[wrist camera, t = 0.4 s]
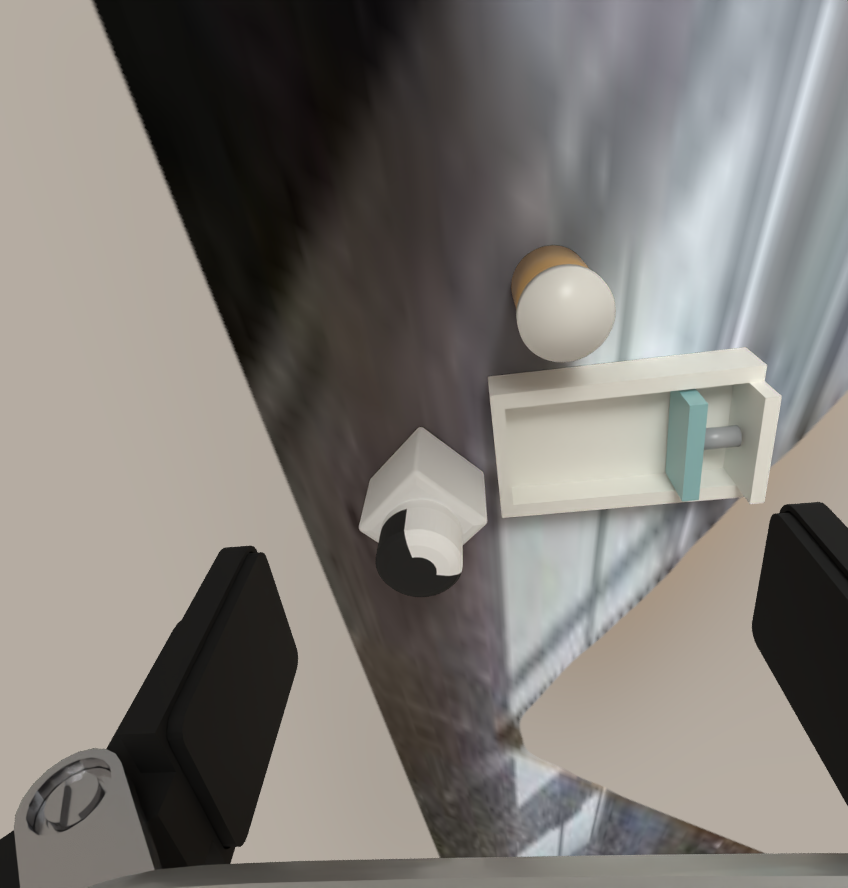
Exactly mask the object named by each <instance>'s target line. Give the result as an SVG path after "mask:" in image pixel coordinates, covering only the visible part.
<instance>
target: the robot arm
mask: <svg viewBox="0 0 848 888" xmlns="http://www.w3.org/2000/svg"><path fill="white" fill-rule="evenodd" d="M752 632H753V637H754V639H755V642H756V645H757V647H758V648H759V650H760V652H761V654H762V655H763V657H764V659H765V661H766V662H767V664H768V666H769V668H770V669H771V671H772V673H773V675H774V676H775V678H776V680H777V682H778V684H779V685H780V687H781V689H782V691H783V692H784V694H785V696H786V698H787V699H788V701H789V703H790V705H791V707H792V708H793V710H794V712H795V714H796V715H797V717H798V719H799V721H800V722H801V724H802V726H803V728H804V730H805V731H806V733H807V735H808V736H809V738H810V740H811V742H812V744H813V745H814V747H815V749H816V751H817V752H818V754H819V756H820V758H821V760H822V761H823V763H824V765H825V766H826V768H827V770H828V772H829V774H830V775H831V777H832V779H833V781H834V782H835V784H836V786H837V788H838V790H839V791H840V793H841V795H842V797H843V798H844V800H845V802H846V804H847V805H848V528H847V527H846V526H845V525H844V524H843V523H842V522H841V520H840V519H839V518H838V517H837V516H836V515H835V514H834V513H833V512H832V511H831V510H830V509H829V508H828V507H827V506H826V505H825V504H823V503H820V502H814V503H800V504H787V505H784V506H783V507H782V508H781V510H780V513H778V514H773V515H772V517H771V519H770V523H769V529H768V535H767V540H766V546H765V552H764V558H763V563H762V569H761V575H760V580H759V586H758V592H757V598H756V603H755V609H754V615H753V621H752ZM297 665H298V652H297V648H296V645H295V642H294V639H293V636H292V633H291V630H290V627H289V624H288V621H287V618H286V615H285V612H284V609H283V606H282V603H281V600H280V596H279V593H278V590H277V587H276V584H275V581H274V578H273V575H272V572H271V569H270V566H269V563H268V561H267V558H266V555H265V554H264V553H261V552H260V553H258V552H257V550H256V549H255V547H253V546H241V547H228V548H223V549H222V550H221V551H220V552H219V554H218V556H217V557H216V559H215V561H214V563H213V565H212V566H211V568H210V570H209V572H208V574H207V575H206V577H205V579H204V581H203V583H202V584H201V586H200V588H199V590H198V592H197V593H196V595H195V597H194V599H193V601H192V602H191V604H190V606H189V608H188V610H187V611H186V613H185V615H184V617H183V619H182V620H181V621H180V622H179V623H178V624H177V625H176V627H175V628H174V629H173V632H172V633H171V635H170V637H169V638H168V640H167V642H166V644H165V646H164V647H163V649H162V651H161V653H160V654H159V656H158V658H157V660H156V661H155V663H154V665H153V667H152V669H151V670H150V672H149V674H148V676H147V678H146V679H145V681H144V683H143V685H142V686H141V688H140V690H139V692H138V694H137V695H136V697H135V699H134V701H133V703H132V704H131V706H130V708H129V710H128V711H127V713H126V715H125V717H124V718H123V720H122V722H121V724H120V726H119V727H118V729H117V731H116V733H115V735H114V736H113V738H112V740H111V742H110V743H109V745H108V747H107V749H97V748H93V749H88V750H85V751H80V752H77V753H75V754H73V755H71V756H69V757H67V758H65V759H63V760H61V761H60V762H58V763H57V764H55V765H54V766H53V767H51V768H50V769H48V770H47V771H46V772H45V773H44V774H43V775H42V776H41V777H40V778H39V779H38V780H37V781H36V782H35V783H34V784H33V785H32V786H31V788H30V789H29V790H28V792H27V793H26V795H25V796H24V797H23V799H22V801H21V803H20V805H19V808H18V810H17V812H16V815H15V824H14V831H12V832H11V833H9V834H8V835H6V836H5V837H3V838H2V839H0V888H848V853H799V854H797V853H792V854H692V855H610V856H542V857H481V858H427V859H380V860H332V861H292V862H267V863H244V864H230V863H231V859H232V856H233V853H234V850H235V847H237V846H238V847H241V846H242V845H243V844H244V842H245V840H246V838H247V835H248V832H249V828H250V825H251V822H252V818H253V815H254V811H255V808H256V805H257V801H258V798H259V794H260V791H261V788H262V785H263V781H264V778H265V774H266V771H267V768H268V764H269V761H270V757H271V754H272V751H273V747H274V744H275V740H276V737H277V734H278V731H279V727H280V724H281V720H282V717H283V714H284V710H285V707H286V704H287V700H288V696H289V693H290V690H291V687H292V683H293V680H294V676H295V673H296V670H297Z"/></svg>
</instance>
